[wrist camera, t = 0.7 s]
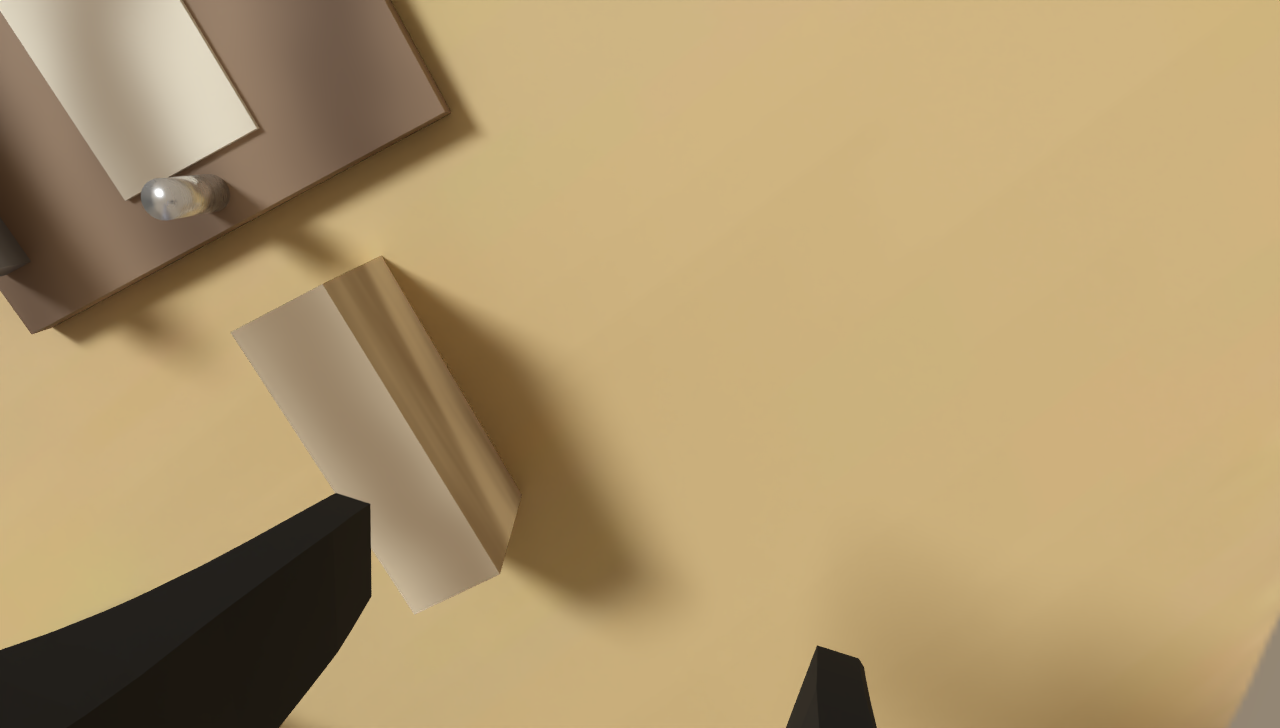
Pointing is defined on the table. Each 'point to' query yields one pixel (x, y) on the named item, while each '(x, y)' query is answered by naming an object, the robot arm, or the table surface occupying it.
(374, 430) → the beige wooden block
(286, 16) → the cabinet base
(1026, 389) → the table surface
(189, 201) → the hinge pins
